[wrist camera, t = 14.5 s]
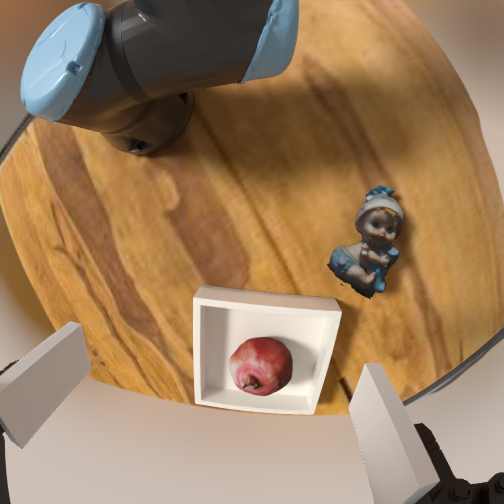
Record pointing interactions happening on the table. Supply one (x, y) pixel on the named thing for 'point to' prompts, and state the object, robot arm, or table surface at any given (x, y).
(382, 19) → the table surface
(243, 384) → the fruit
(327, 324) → the dish
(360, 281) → the figurine
